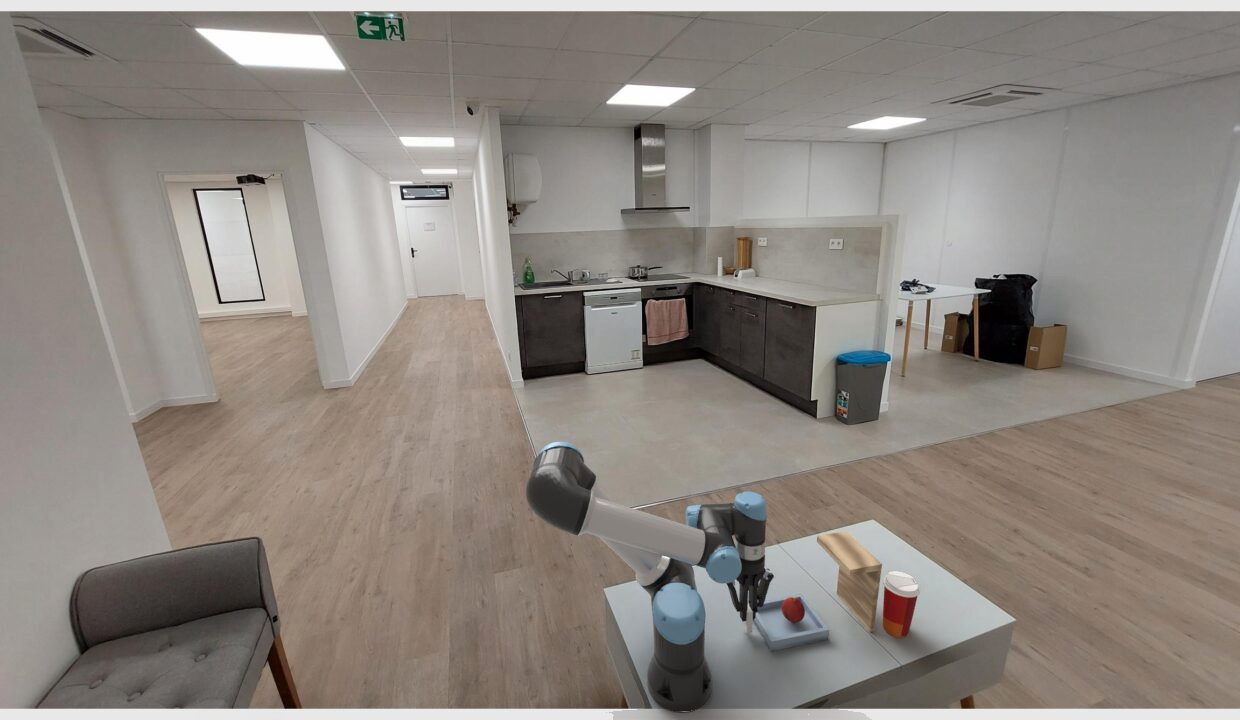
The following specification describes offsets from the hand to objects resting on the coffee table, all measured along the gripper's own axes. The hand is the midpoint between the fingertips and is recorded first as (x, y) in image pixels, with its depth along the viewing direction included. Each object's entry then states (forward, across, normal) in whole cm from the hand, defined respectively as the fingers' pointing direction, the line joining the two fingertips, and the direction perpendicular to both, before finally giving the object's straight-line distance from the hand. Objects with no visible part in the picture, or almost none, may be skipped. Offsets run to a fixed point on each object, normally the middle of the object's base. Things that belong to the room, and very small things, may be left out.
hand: (747, 628), depth 127 cm
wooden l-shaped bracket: (+2, +28, 0) cm, 28 cm away
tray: (+2, +11, 0) cm, 12 cm away
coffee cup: (+2, +38, -7) cm, 39 cm away
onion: (+1, +13, 0) cm, 13 cm away
